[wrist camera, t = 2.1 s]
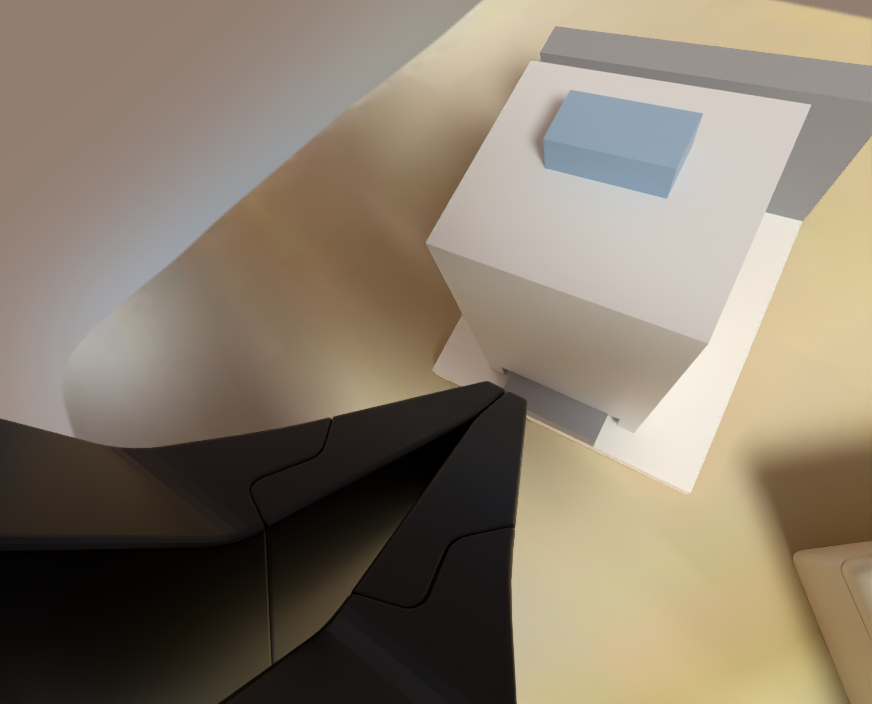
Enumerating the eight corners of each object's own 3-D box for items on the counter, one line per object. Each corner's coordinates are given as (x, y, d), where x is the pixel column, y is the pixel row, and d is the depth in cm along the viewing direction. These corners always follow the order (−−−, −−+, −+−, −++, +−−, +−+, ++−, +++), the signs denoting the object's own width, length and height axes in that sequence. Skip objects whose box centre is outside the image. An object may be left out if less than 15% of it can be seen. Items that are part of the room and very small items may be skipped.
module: (633, 433, 16) (724, 325, 7) (491, 369, 18) (413, 220, 9) (689, 309, 17) (835, 65, 8) (546, 261, 19) (528, 26, 10)
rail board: (684, 494, 16) (748, 483, 10) (437, 375, 19) (385, 320, 14) (803, 207, 18) (909, 70, 12) (558, 150, 21) (555, 26, 16)
